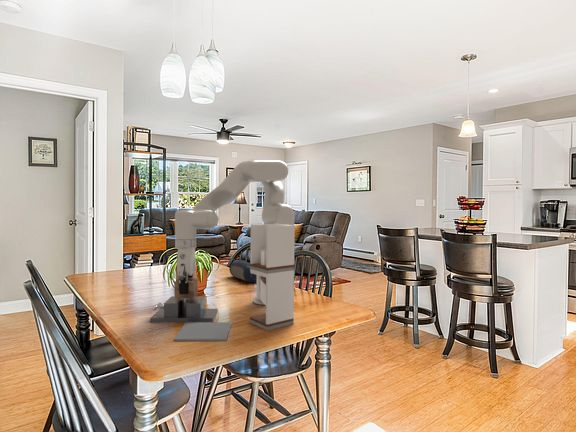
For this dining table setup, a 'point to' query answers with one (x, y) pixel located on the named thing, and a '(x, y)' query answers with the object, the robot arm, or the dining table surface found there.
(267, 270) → the grey two-tier cabinet
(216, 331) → the mat
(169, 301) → the vise
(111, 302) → the dining table surface
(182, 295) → the collar
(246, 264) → the portable speaker
